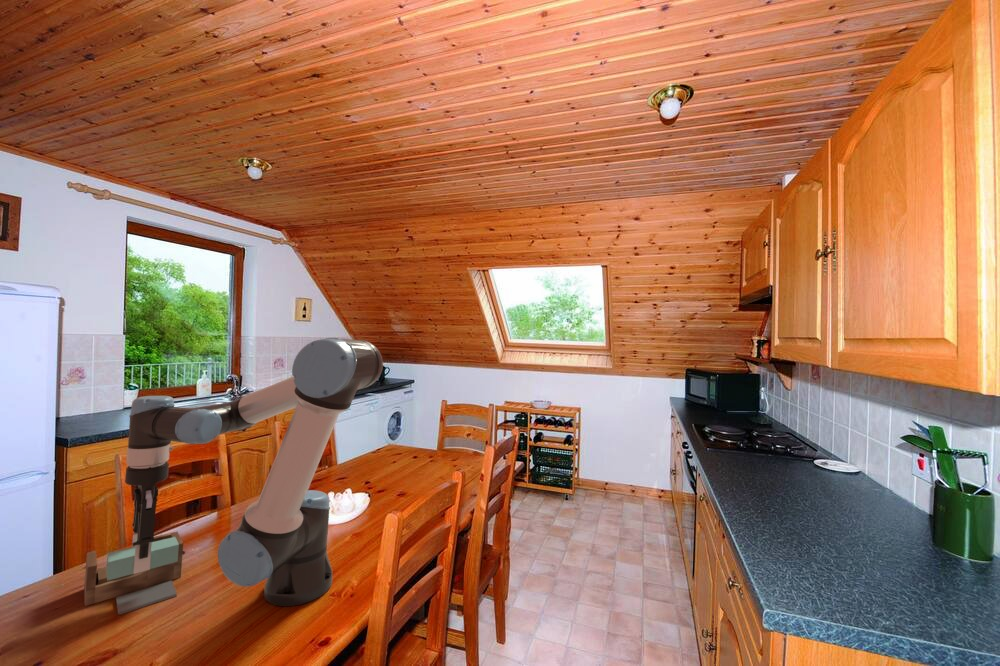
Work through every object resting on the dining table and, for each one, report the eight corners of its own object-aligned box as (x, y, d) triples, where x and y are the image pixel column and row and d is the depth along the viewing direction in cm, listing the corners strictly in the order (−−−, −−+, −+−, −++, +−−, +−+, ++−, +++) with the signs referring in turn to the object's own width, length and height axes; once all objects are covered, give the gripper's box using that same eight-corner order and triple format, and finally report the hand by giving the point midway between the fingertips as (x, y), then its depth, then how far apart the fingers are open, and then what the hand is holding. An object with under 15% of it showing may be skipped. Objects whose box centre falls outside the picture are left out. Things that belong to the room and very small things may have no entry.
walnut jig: (175, 563, 108) (177, 531, 109) (180, 577, 102) (183, 543, 103) (84, 589, 96) (86, 552, 96) (84, 606, 90) (87, 567, 90)
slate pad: (176, 596, 95) (176, 593, 95) (118, 615, 88) (118, 612, 88) (171, 582, 100) (171, 580, 100) (116, 599, 93) (116, 597, 93)
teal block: (174, 553, 99) (175, 536, 100) (177, 561, 96) (178, 544, 96) (106, 571, 91) (107, 552, 91) (107, 580, 87) (108, 562, 87)
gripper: (175, 470, 90) (167, 576, 90) (163, 452, 103) (156, 545, 102) (130, 477, 85) (120, 590, 84) (123, 457, 97) (115, 555, 97)
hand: (140, 565), depth 93 cm, fingers closed on teal block, 5 cm apart
